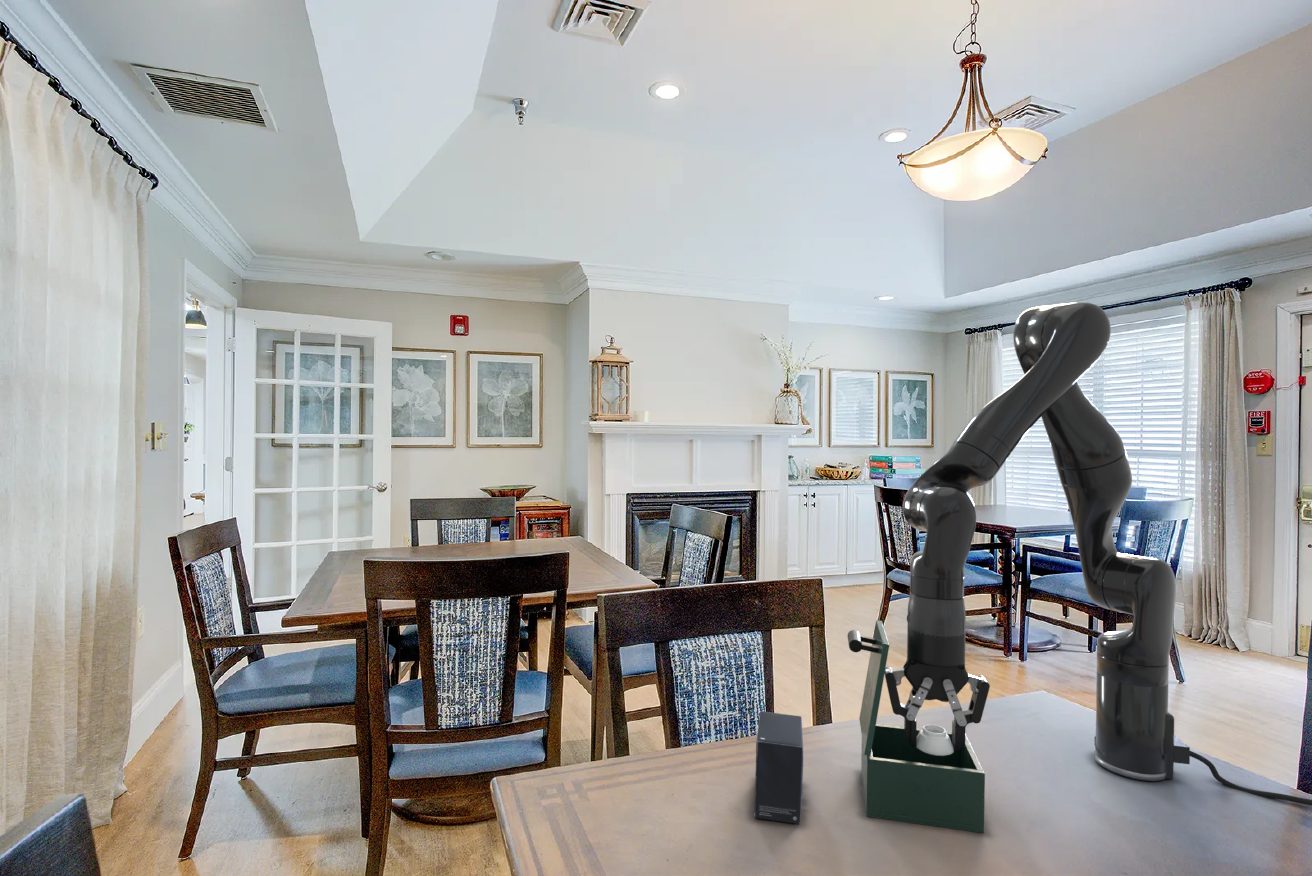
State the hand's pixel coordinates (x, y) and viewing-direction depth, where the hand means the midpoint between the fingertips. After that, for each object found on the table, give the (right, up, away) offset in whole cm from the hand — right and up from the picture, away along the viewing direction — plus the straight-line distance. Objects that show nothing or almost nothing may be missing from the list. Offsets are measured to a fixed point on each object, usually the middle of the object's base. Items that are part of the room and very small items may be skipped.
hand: (934, 746), depth 94 cm
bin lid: (-8, +8, +2) cm, 11 cm away
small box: (-22, -8, 0) cm, 23 cm away
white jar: (0, -1, 0) cm, 1 cm away
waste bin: (-2, -8, 0) cm, 8 cm away
